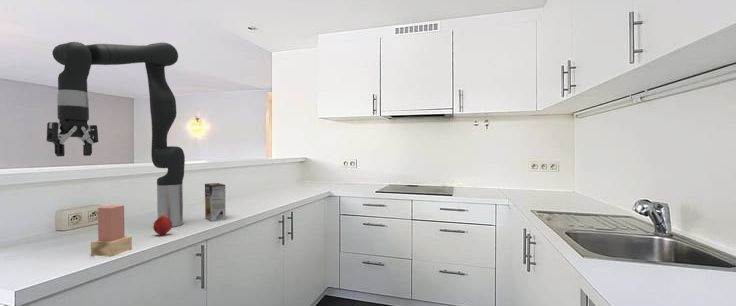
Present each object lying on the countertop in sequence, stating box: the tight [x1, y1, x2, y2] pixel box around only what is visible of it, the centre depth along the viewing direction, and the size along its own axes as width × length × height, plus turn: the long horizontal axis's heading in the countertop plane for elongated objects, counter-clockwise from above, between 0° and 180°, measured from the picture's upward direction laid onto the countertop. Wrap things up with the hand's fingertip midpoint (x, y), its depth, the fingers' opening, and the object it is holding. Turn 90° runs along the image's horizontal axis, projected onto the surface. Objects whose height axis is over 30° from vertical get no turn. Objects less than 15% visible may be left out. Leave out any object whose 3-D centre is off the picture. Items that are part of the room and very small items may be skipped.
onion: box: [153, 214, 173, 236], centre depth 122 cm, size 6×6×8 cm
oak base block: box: [90, 235, 133, 257], centre depth 101 cm, size 7×7×4 cm
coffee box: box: [204, 182, 226, 222], centre depth 150 cm, size 9×6×16 cm
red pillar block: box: [97, 205, 126, 241], centre depth 101 cm, size 4×4×10 cm
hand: (74, 156), depth 106 cm, fingers open, 8 cm apart
